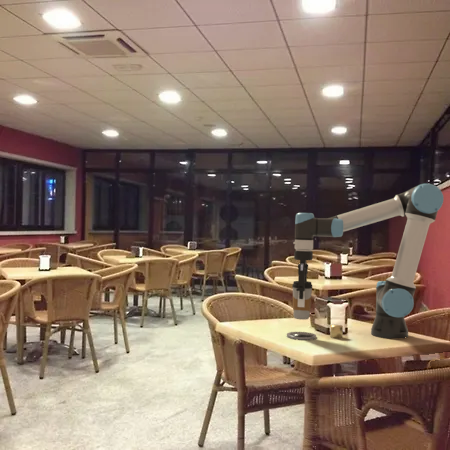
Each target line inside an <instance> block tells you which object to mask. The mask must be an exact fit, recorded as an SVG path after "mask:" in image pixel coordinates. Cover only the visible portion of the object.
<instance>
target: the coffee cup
mask: <svg viewBox="0 0 450 450" xmlns="http://www.w3.org/2000/svg"><path fill="white" fill-rule="evenodd" d="M291 287H292V312H293V318H294V319H296V320H303V321H304V320H309V319H310V316H311V315H310V314H311V313H310V312H311V306H312V292H313V291H312V290H313V284H312V281H305V290H304V291H305V306H304V307H298V291H296V289H298V280H295V281H294V280H293V283H292V285H291Z"/></svg>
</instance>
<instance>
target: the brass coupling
mask: <svg viewBox="0 0 450 450" xmlns="http://www.w3.org/2000/svg"><path fill="white" fill-rule="evenodd" d="M343 328H344V326H343V325H341V324H331V325H330V329H329V331H330V332H329V333H330V334H329V337H330V338H331V339H337V340H339V339H343V332H344V329H343Z"/></svg>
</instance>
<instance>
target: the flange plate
mask: <svg viewBox="0 0 450 450" xmlns="http://www.w3.org/2000/svg"><path fill="white" fill-rule="evenodd" d="M286 337H287V338H288V339H291V340H296V339H298V340H297V341H311V340H310V339H313V340H316V339H317V335H316V334H315V333H313V332H305V331H289V332H287V333H286ZM315 338H316V339H315Z"/></svg>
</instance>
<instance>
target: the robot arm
mask: <svg viewBox="0 0 450 450" xmlns="http://www.w3.org/2000/svg"><path fill="white" fill-rule="evenodd" d="M443 203H444V194H443V192H442V190H441V189H440V188H439V187H438V186H437V185H435V184H432V183H421V184H418V185H416V186H414V187H411V188H410V189H408V190H406V191H404V192H402V193H399V194H395V196H394V197H393V198H390V199H387V200H384V201H381V202H378V203H377V202H376V203H373V204H371V205H367V206H364V207H361V208H357V209H354V210H351V211H348V212H344V213H341V214H338V215H337V214H336V215H335V216H330V217H328V218H327V217H326V218H324V217H323V218H322V217H321V218H320V217H319V218H318V217H315V215H314V213H312V212H298V213H296V214H295V220H294V222H295V223H294V241H293V242H292V243H293V245H294V249H295V251H294V253H293V259H294V260H295V261H299V263H298V264H297V269H298V270H297V274H298V280H297V281H298V289H296V291H298V307H304V306H305V291H304V290H305V281H307V280H308V269H309V264H308V263H307V261H312V260H313V257H314V256H313V255H314V254H313V250H314V237H323V238H324V237H325V238H327V237H328V238H329V237H330V238H342V236H343V235H344V233H345V232H348V231H350V230H353V229H357V228H360V227H363V226H368V225H371V224H375V223H377V222H381V221H382V222H383V221H385V220H388V219H391V218H394V217H399V216H401V217H402V218H403V217H406V219H407V220H406V224H405V227H404V231H403V235H402V237H401V241H400V244H399V247H398V252H397V256H396V259H395V263H394V265H393V266H394V267H393V270H392V272H391V276H389V277H388V278H386V279H385V280H379V281H377V283H376V287H375V289H376V293H375V296H376V299H375V318H374V321H373V323H372V325H371V328H370V330H371V331H370V334H371V335H372V336H375V337H377V338H382V337H383V339H391V338H403V339H406V338H405V337H407V338H408V337H409V330H408V326H407V323H406V320H405V317H406V316H408V315H409V314H410V313H411V312H412V311H413V309H414V305H415V303H414V302H415V300H414V295H415V293H416V289H417V287H416V285H415V283H414V280H415V277H416V273H417V271H418V266H419V264H420V260H421V256H422V252H423V249H424V245H425V243H426V239H427V234H428V232H429V228H430V225H431V224H432V223H434V222H436V220H437V215H438V213H439V211H440V209H441V208H442V206H443Z"/></svg>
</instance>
